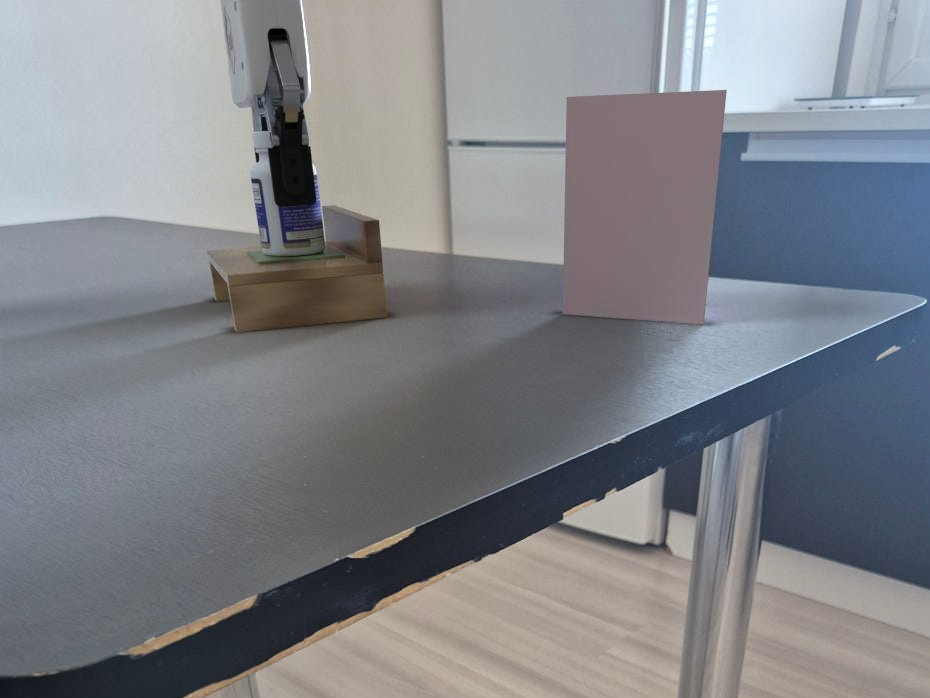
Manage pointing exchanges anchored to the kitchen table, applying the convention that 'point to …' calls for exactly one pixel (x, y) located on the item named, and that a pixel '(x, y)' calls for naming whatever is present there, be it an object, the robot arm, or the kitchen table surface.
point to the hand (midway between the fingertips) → (288, 200)
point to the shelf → (306, 278)
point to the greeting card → (641, 204)
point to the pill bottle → (283, 212)
